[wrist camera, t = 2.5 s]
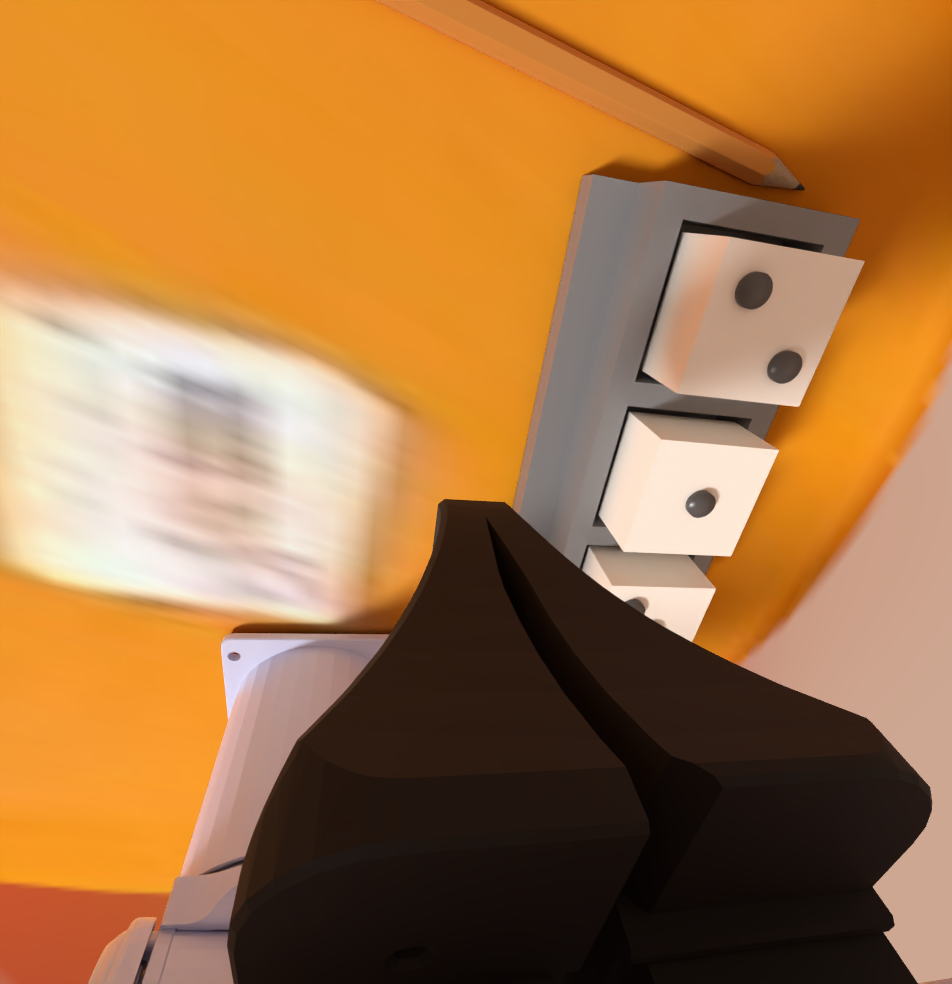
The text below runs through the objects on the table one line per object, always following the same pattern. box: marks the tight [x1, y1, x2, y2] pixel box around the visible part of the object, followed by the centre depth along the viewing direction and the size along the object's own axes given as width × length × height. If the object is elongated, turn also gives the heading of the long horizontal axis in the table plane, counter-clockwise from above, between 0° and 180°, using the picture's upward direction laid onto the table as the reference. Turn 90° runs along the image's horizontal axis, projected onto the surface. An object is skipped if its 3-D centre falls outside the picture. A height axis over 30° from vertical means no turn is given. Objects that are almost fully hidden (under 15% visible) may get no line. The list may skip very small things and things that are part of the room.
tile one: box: [598, 411, 779, 556], centre depth 18 cm, size 4×4×3 cm
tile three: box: [582, 546, 716, 642], centre depth 20 cm, size 4×4×3 cm
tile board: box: [513, 174, 860, 575], centre depth 20 cm, size 17×9×3 cm, turn 171°
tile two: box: [641, 232, 865, 407], centre depth 15 cm, size 4×4×3 cm
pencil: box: [375, 0, 805, 190], centre depth 14 cm, size 1×1×19 cm
